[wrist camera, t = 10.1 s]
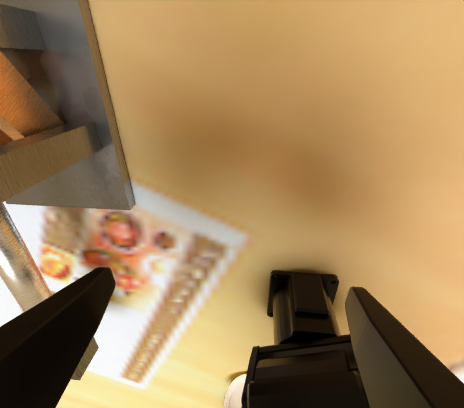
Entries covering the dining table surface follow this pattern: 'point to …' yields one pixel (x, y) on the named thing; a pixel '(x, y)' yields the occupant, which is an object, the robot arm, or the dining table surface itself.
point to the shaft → (27, 278)
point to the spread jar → (235, 393)
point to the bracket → (62, 111)
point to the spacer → (21, 106)
